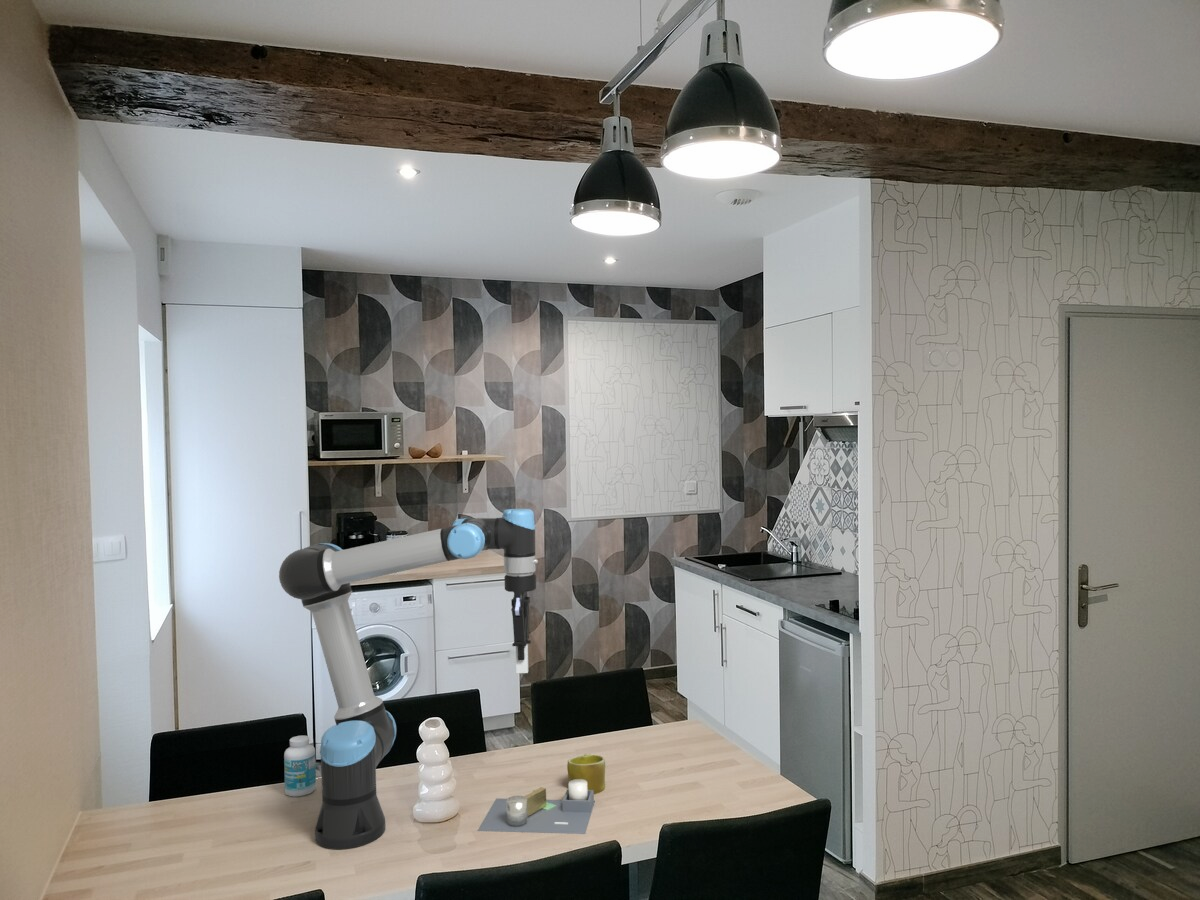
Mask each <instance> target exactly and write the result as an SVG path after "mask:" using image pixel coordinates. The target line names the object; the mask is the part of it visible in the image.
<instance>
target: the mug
mask: <svg viewBox="0 0 1200 900" xmlns="http://www.w3.org/2000/svg"><path fill="white" fill-rule="evenodd" d="M566 766H567V768H566V769H567V777H568V783H569V782H570V781H571V780H574V779H583V780H586V781H587V790H594V795H597V794H600V793H602V792H604V791H605V789H606V761H605V758H604V757H603V756H601V755H598V754H597V755H596V754H592V753H584V754H583V755H580V756H579V755H578V756H573V757H571V758H569V759H567V765H566Z"/></svg>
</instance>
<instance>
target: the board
mask: <svg viewBox="0 0 1200 900" xmlns="http://www.w3.org/2000/svg"><path fill="white" fill-rule="evenodd" d="M507 799H508V798H495V800H494V801H493V802H492V805H491V807H490V809H489V810H488V812H487V814H486V815H485V817H484V818H483V820H482V822H481V824H480V825H479V827H478V829H477V832H496V833H497V832H500V833H503V832H504V833H530V834H531V833H536V834H537V833H538V834H540V833H541V834H567V835H569V834H571V835H572V834H573V835H574V834H575V835H586V833H587V830H588V826H589V823H590V819H591V815H592V813H593V809H594V806H595V803H596V800H595V794H594V790H588V800H569V789H566V791H565V794H564V796H563V799H546V806H545V807H543V808H541V809H540V810H538V811H536V812H535V813H533V814H531V815H529V816H528V821H527V823H525V824H523V825H520V826H512V825H509V824H508V823H507V802H506V800H507Z"/></svg>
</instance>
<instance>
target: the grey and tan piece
mask: <svg viewBox="0 0 1200 900" xmlns="http://www.w3.org/2000/svg"><path fill="white" fill-rule="evenodd" d="M506 799H507V800H506V802H507V823H508V824H509V825H512V826H520V825H523V824H525V823H527V821H528V816H529V815H531V814H533V813H535V812H536V811H538V810H540V809H541V808H543V807H545V806H546V800H547V788H546V787H539V788H537V789H536V790H534V791H532V792H529V793H528V794H526V795H513V796H510V797H508V798H506Z"/></svg>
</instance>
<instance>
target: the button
mask: <svg viewBox="0 0 1200 900" xmlns="http://www.w3.org/2000/svg"><path fill="white" fill-rule="evenodd" d="M568 790H569V800H588V790H587V781H586V780H583V779H574V780H571V781H570V782H569V781H568Z"/></svg>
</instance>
